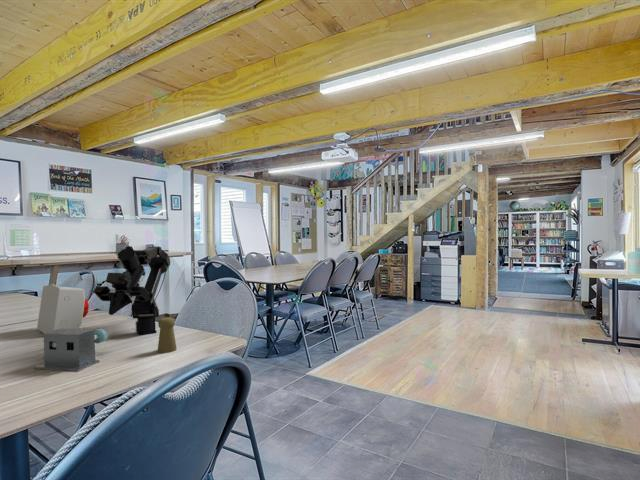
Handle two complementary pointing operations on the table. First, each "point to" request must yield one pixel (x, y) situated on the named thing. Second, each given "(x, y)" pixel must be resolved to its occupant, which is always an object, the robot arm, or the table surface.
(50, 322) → the electrical switch box
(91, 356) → the mount
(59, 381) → the table surface
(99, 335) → the popped knob
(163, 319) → the olive tapered figurine
